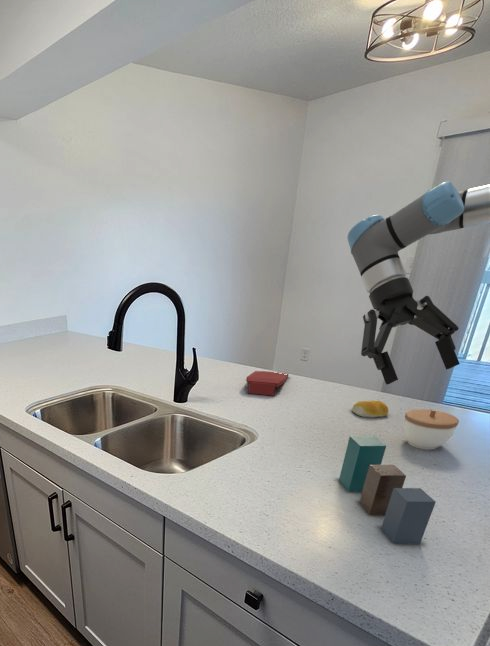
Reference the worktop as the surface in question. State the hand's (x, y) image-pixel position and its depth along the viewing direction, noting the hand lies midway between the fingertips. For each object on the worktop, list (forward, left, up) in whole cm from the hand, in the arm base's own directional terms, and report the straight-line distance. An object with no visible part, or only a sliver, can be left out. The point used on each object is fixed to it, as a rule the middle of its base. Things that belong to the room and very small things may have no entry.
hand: (422, 374), depth 93 cm
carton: (+13, -64, -22) cm, 69 cm away
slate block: (+13, +28, -22) cm, 37 cm away
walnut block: (+13, +19, -22) cm, 31 cm away
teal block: (+13, +9, -22) cm, 27 cm away
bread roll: (-9, -33, -22) cm, 41 cm away
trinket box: (-12, -11, -22) cm, 28 cm away
